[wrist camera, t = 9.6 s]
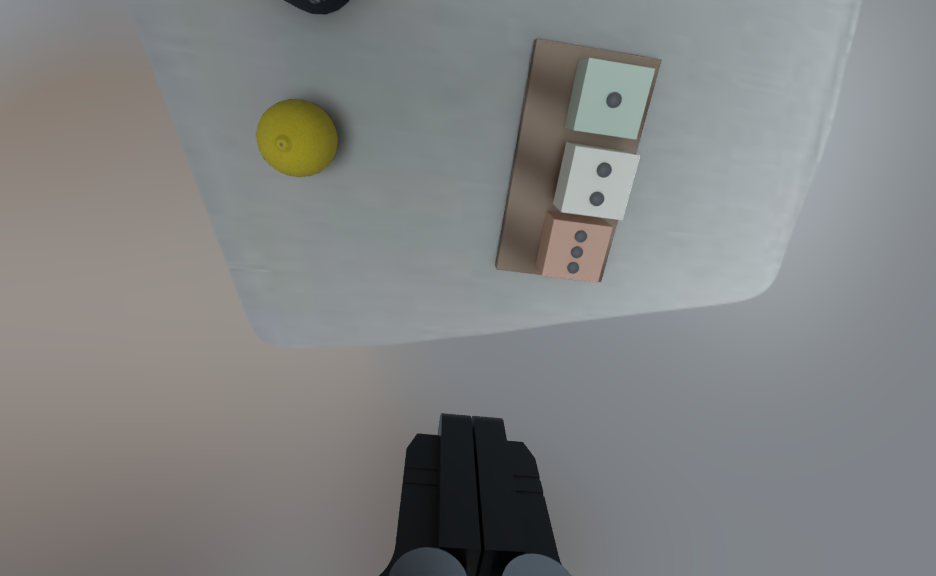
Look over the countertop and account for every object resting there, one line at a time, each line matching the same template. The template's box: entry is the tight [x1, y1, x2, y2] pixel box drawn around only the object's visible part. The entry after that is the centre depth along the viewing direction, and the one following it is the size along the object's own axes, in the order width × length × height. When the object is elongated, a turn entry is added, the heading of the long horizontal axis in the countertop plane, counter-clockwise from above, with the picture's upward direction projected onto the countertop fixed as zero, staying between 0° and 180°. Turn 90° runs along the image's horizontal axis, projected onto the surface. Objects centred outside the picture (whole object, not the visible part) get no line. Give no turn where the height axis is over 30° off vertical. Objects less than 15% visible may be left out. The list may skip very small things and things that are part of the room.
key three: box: [536, 211, 613, 283], centre depth 40 cm, size 5×5×3 cm
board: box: [495, 39, 661, 282], centre depth 40 cm, size 19×10×1 cm, turn 172°
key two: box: [553, 142, 640, 220], centre depth 37 cm, size 5×5×3 cm
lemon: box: [256, 99, 338, 177], centre depth 35 cm, size 6×6×8 cm
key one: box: [564, 58, 655, 140], centre depth 36 cm, size 5×5×3 cm
